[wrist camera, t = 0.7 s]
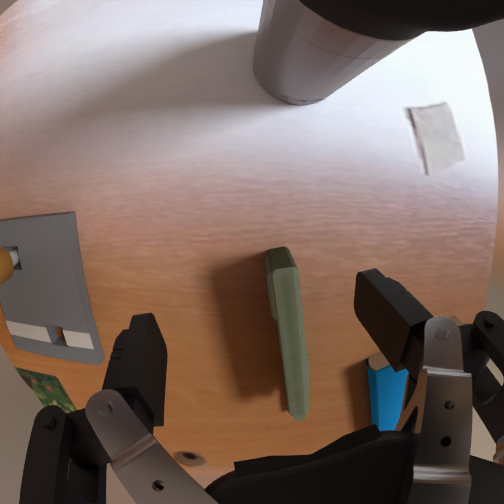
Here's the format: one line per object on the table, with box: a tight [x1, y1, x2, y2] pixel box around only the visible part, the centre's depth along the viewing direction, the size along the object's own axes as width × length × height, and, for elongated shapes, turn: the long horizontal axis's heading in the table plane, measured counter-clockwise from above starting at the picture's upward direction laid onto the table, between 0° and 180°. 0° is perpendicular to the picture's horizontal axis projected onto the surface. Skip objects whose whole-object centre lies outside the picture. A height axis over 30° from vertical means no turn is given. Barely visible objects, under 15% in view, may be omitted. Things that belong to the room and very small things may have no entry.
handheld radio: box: [264, 247, 310, 421], centre depth 31 cm, size 7×3×25 cm
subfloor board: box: [0, 211, 105, 365], centre depth 29 cm, size 20×17×2 cm
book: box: [366, 316, 467, 431], centre depth 37 cm, size 17×4×25 cm
